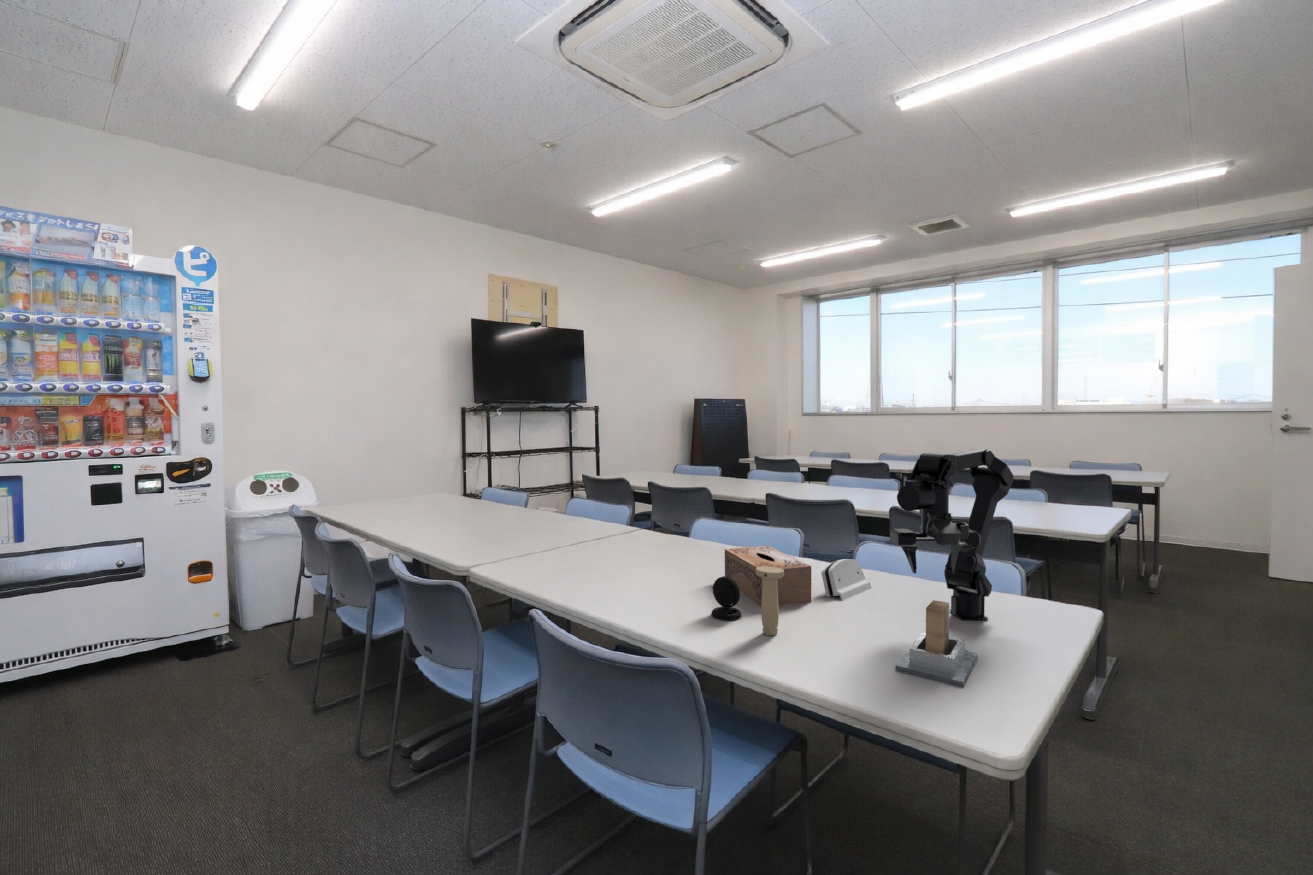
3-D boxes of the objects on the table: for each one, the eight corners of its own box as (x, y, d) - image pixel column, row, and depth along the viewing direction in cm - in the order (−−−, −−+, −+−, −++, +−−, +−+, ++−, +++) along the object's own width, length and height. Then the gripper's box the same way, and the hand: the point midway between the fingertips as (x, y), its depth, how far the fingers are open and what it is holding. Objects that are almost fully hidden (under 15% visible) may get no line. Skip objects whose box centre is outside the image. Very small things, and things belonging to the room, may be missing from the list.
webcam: (747, 615, 147) (747, 576, 147) (730, 623, 142) (730, 582, 141) (722, 608, 152) (722, 570, 152) (705, 616, 147) (704, 576, 147)
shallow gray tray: (915, 644, 128) (915, 626, 128) (977, 657, 120) (977, 638, 120) (895, 670, 115) (895, 650, 115) (963, 687, 108) (963, 665, 108)
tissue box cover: (811, 602, 157) (811, 566, 157) (762, 608, 153) (762, 570, 153) (767, 577, 182) (767, 545, 181) (724, 581, 178) (724, 548, 178)
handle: (778, 640, 131) (778, 574, 130) (752, 634, 135) (752, 569, 134) (787, 633, 135) (787, 569, 134) (762, 627, 139) (761, 565, 138)
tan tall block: (932, 652, 121) (933, 599, 121) (948, 655, 119) (949, 602, 119) (925, 662, 116) (926, 607, 116) (941, 666, 114) (942, 610, 114)
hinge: (842, 600, 158) (831, 563, 160) (827, 602, 161) (817, 566, 163) (872, 587, 169) (861, 553, 171) (858, 589, 173) (847, 556, 175)
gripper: (908, 513, 129) (907, 583, 129) (994, 512, 128) (993, 583, 129) (889, 505, 140) (889, 569, 140) (968, 504, 139) (968, 569, 140)
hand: (934, 573), depth 137 cm, fingers open, 9 cm apart
